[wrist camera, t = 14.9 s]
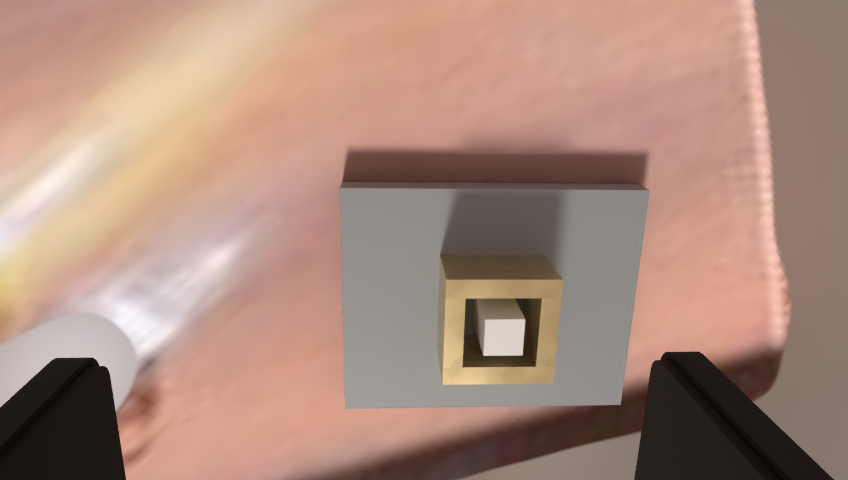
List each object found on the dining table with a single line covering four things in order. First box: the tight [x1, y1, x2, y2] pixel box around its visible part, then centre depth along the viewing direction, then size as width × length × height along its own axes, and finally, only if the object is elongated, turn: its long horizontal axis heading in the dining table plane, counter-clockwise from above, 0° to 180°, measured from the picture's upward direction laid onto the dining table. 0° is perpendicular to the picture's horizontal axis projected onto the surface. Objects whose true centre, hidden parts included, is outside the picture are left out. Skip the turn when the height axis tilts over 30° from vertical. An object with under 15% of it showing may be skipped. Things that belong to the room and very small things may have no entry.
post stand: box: [340, 182, 649, 409], centre depth 39 cm, size 16×20×7 cm
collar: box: [437, 255, 563, 385], centre depth 39 cm, size 7×7×4 cm
